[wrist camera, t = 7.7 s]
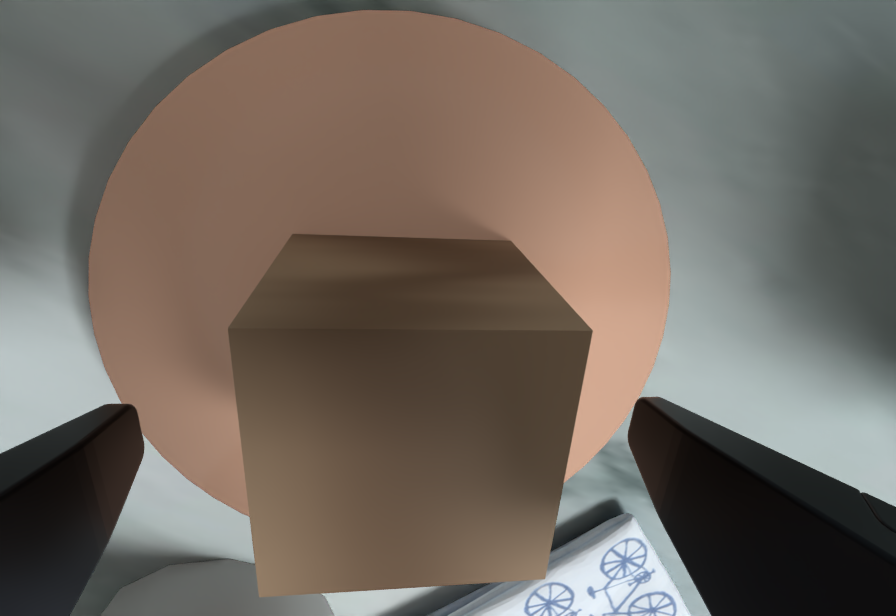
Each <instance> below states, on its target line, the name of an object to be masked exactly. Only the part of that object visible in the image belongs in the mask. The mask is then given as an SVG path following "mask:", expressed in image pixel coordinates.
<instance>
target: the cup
mask: <svg viewBox="0 0 896 616" xmlns="http://www.w3.org/2000/svg"><path fill="white" fill-rule="evenodd" d="M100 616H334V614H333V612H332V610H331V608H330V606H329V604H328V602H327V600H326V598H325V597H324V596H323V595H321V594H305V595H289V596H273V597H259V593H258V584H257V575H256V567H255V564H251V563H247V562H242V561H237V560H233V559H222V560H213V561H203V562H193V563H184V564H174V565H168V566H166V567H164V568H162V569H160V570H158V571H156V572H154V573H151V574H149V575H147V576H145V577H143V578H141V579H139V580H137V581H135V582H133V583H131V584H129V585H127V586H125V587H122V588H120V590H119V591H118V592H117V594H116V595H115V596H114V598H113V599H112V600H111V602H110V603H109V605H108V606H107V607H106V609H105V610H104V611H103V613H102V614H101V615H100Z"/></svg>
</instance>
